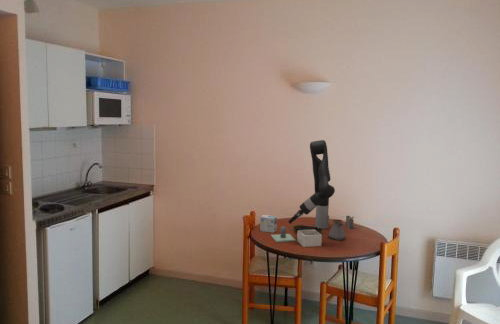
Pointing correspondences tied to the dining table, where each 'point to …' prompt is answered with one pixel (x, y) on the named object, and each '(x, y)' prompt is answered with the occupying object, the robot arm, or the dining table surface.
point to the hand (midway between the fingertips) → (291, 221)
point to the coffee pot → (337, 230)
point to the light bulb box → (268, 223)
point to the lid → (283, 236)
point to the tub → (309, 238)
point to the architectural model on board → (349, 222)
